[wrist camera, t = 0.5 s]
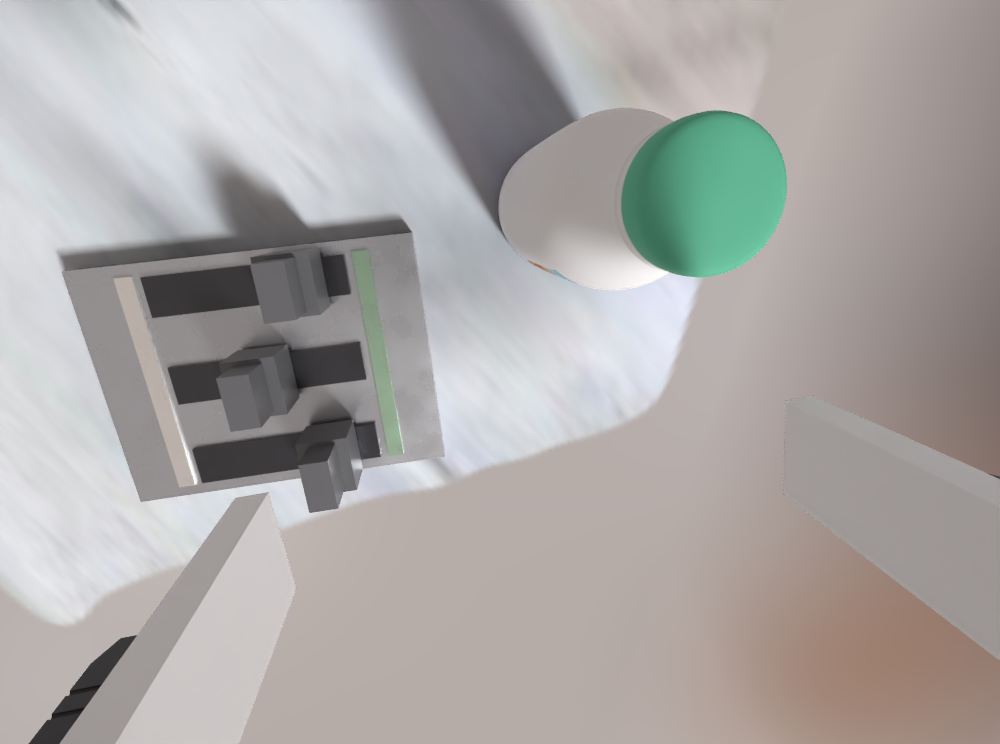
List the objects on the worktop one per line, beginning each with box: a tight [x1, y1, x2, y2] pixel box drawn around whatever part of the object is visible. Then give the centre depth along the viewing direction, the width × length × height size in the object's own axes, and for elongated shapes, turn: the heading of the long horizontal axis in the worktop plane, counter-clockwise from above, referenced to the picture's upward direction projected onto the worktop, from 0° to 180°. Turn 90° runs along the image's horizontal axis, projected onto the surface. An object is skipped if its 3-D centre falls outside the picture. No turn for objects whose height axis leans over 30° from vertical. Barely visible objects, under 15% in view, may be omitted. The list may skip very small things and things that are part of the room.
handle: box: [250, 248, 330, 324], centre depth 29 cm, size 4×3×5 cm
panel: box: [62, 232, 445, 502], centre depth 34 cm, size 15×20×2 cm
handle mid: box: [216, 344, 299, 432], centre depth 30 cm, size 4×3×5 cm
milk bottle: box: [499, 108, 787, 290], centre depth 24 cm, size 8×8×20 cm
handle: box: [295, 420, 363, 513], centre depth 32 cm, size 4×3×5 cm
